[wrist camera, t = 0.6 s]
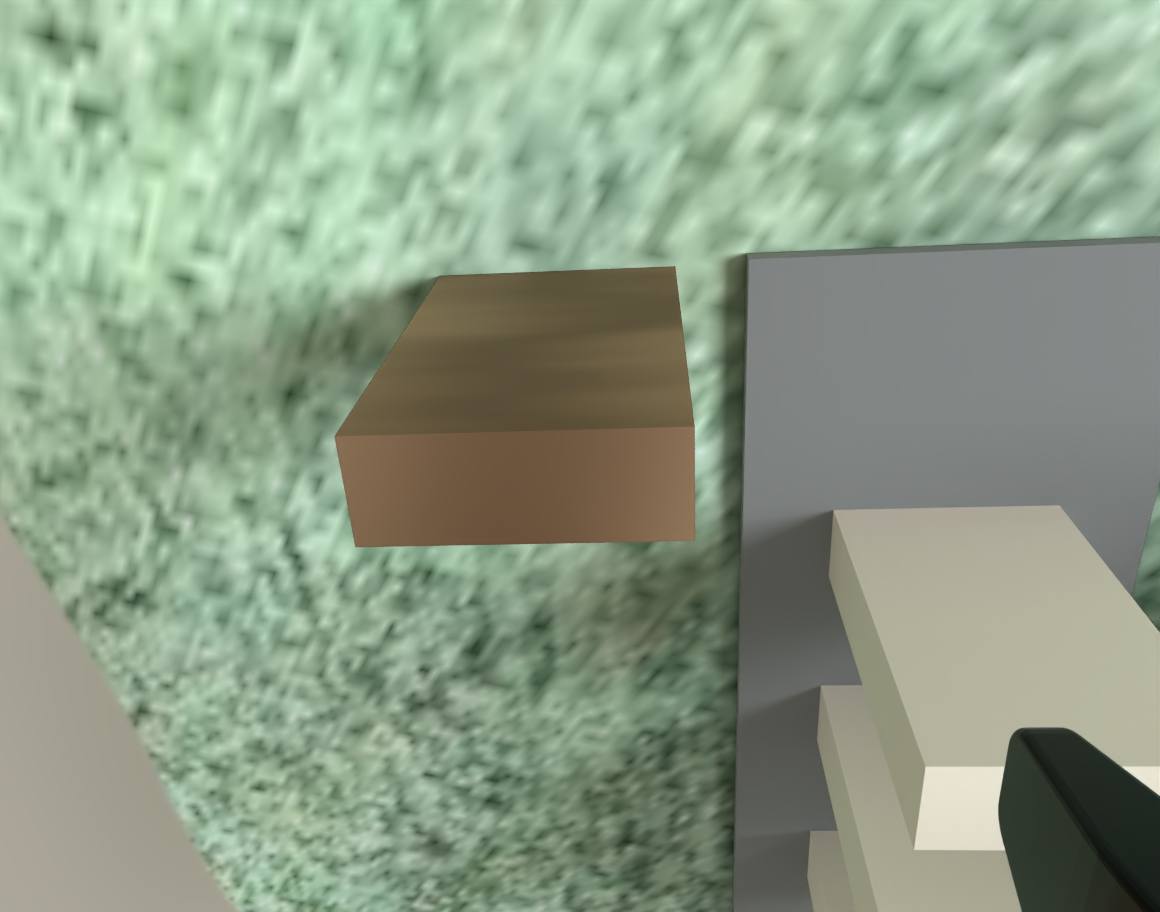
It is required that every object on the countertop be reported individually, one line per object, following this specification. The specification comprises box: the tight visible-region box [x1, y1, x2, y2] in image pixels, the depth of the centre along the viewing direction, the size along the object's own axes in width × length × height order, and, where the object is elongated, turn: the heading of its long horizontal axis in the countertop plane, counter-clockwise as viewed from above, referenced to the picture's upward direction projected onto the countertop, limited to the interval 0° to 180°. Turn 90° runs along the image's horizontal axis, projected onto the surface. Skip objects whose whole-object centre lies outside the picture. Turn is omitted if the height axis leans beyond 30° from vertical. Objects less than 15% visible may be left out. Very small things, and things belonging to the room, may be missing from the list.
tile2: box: [829, 505, 1160, 850], centre depth 16 cm, size 4×2×7 cm, turn 93°
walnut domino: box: [335, 266, 695, 547], centre depth 15 cm, size 4×2×7 cm, turn 93°
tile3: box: [817, 685, 1022, 912], centre depth 18 cm, size 4×2×7 cm, turn 93°
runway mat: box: [732, 237, 1160, 912], centre depth 22 cm, size 8×23×1 cm, turn 3°
